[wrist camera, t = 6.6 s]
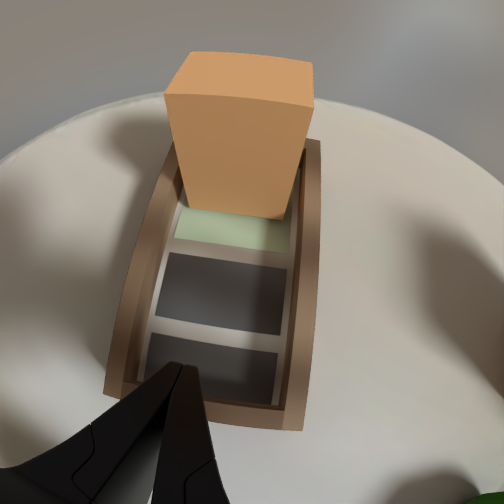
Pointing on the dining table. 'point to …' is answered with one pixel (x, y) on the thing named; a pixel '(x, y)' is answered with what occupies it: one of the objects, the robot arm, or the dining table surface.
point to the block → (240, 129)
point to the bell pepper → (488, 499)
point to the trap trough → (224, 301)
